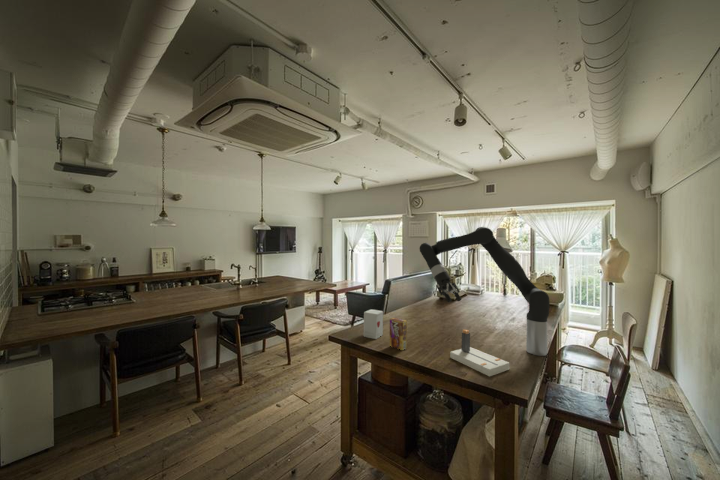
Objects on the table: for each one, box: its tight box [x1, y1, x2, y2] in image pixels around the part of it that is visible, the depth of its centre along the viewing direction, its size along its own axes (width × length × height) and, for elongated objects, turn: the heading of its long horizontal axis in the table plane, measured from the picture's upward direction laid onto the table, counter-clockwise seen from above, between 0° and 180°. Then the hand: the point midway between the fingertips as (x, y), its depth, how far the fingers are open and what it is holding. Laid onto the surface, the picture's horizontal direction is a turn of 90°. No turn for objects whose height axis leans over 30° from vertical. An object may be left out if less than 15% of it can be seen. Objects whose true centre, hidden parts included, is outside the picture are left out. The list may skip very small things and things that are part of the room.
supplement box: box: [363, 308, 384, 340], centre depth 171 cm, size 9×9×15 cm
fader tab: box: [461, 329, 471, 352], centre depth 141 cm, size 3×3×10 cm
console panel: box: [449, 346, 511, 377], centre depth 134 cm, size 14×22×3 cm, turn 29°
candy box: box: [388, 317, 408, 351], centre depth 153 cm, size 9×4×15 cm, turn 47°
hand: (455, 301), depth 146 cm, fingers open, 8 cm apart
